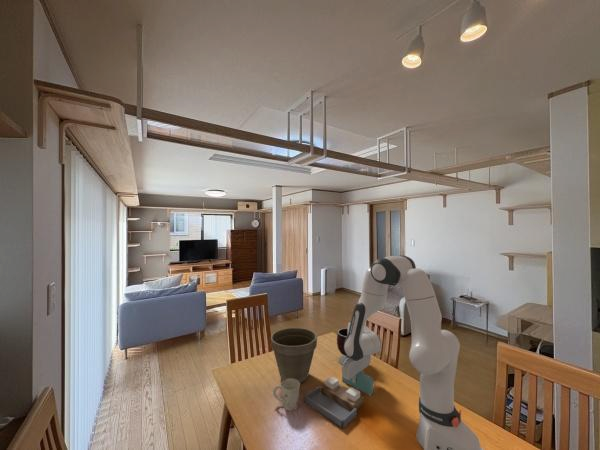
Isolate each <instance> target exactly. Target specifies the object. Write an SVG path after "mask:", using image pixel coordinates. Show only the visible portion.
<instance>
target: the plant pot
mask: <svg viewBox="0 0 600 450" xmlns="http://www.w3.org/2000/svg"><path fill="white" fill-rule="evenodd" d="M317 343H318V335H317V334H316V332H314V331H313V330H311V329H308V328H303V327H287V328H281V329H278V330H277V331H275V332H273V333H272V334H271V336H270V346H271V349H272V350H273V354H274V357H275V362H276V364H277V369H278V373H279V376H280V378H281V380H282V382H283V381H284V380H286V379H290V378H293V379H296V380H298V381H299V382H300V384H301V383H304V382H305V381H306V380H307V379H308V376H309V373H310V368H311V366H312V365H311V364H312V361H313V358H314V357H313V356H314V353H315V350H316V348H317V346H318V345H317Z"/></svg>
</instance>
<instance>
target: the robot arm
mask: <svg viewBox="0 0 600 450" xmlns="http://www.w3.org/2000/svg"><path fill="white" fill-rule="evenodd" d="M396 285H398V286H399V287H400V288H401V289H402V292H403V296H404V301H405V304H406V307H407V311H408V312H407V313H408V315H409V318H410V327H411V328H410V330H411V331H410V332H411V343H410V349H409V355H408V356H409V357H408V358H409V361H410V363H411V365H412V366H413V368H414V369H415V370H416V371H418V373H420V376H419V398H418V413H419V418H418V419H419V421H418V425H417V429H416V431H415V432H416V434H415V437H416V440H417V442H418V443H419V445H420V446H421V447H422V449H423V450H485V448H483V447H481V446H482V445H481V443H480V439H479V437H478V436H477V434H476V433H475V432H474V431H473V430H472V429H471V428H470V427H469V426H468V425H467V424H466V423H465V422H464V421H463V420H462V409H459V411H458V410H457V408H456V406H455V392H454V391H455V390H454V389H455V381H456V380H455V379H456V375H457V367H458V365H457V364H458V357H459V352H460V350H461V344H460V341H459V338H458V337H457V336H456V335H455V333H453V332H451V331H450V330H447V329H442V320H443V315H442V312H441V309H440V306H439V301H438V299H437V295H436V292H435V289H434V286H433V285H432V282H431V280H430V278H429V276H428V274H427V273H426V271H424V269H420V268H417V266H416V264H415V261H414V260H413V259H412V258H411V257H409V256H406V255H401V254H399V255H389V256H385V257H381V258H378V259H376V260H374V261H373V262H372V263H371V265H370V266H369V267H368V268H367V269H366V271H365V274H364V277H363V282H362V287H361V294H360V297H359V298H358V299H359V300H358V302H357V303H356V304H355V306H354V309H353V312H352V316H351V320H350V321H349V322H348V324H347V328H348V333H347V337H346V339H345V342H344V351H345V353H346V355H347V356H348V358H346V360H345V361H344V363H343V365H342V367H343V371H342V370H341V376H343V377H344V378H345V379H347V380H350V379H351V378H352V382H353V383H356V382H357V378H355V376H356V374H358V373H359V372H361V373H363V374H364V369H366V368H367V367H368V366H370V364H371V355H374V354H377V353H379V352H381V349H382V345H383V344H382V340H381V337H380V336H379V335H378V334H377V332H375V331H372V330H371V329H370V328H369V327H368V326H367V325H366V322H367V320H369V318H371V317H372V316H373V315H374V314H376V313H378V312H379V311H380V310H382V309H383V308H384V307H385V305H386V302H387V298H388V289H389V286H393V287H394V286H396Z"/></svg>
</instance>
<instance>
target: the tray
mask: <svg viewBox="0 0 600 450" xmlns="http://www.w3.org/2000/svg"><path fill="white" fill-rule="evenodd" d="M320 390H321V386H319V385H318V386H317V387H315V388H314V389H312V390H310V391H309V392H307V393H306V394H305V395H303V402H304V404H305V405H307V406H309V407H310V408H311V409H313V410H315V412H318V413H319V414H320V415H322V416H323V417H324V418H326V419H327V420H329V421H330V422H332V423H333V424H334V425H336V426H338V427H339V428H340V429H341V430H344V429H345V428H346V427H347V426H348V425H349V424H350V423H351V422H352V421H353V420H355V418H357V416H358V415H357V413H358V412H357V411H358V410H357V409H356V408H354V409H353V410H352V411H350V410H348V409H347V408H345V407H343V406H342V405H340V404H338V403H337V402H335V401H334V400H332V399H330V398H329V397H327V396H325V395H324V394H322V393H321V391H320Z"/></svg>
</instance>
